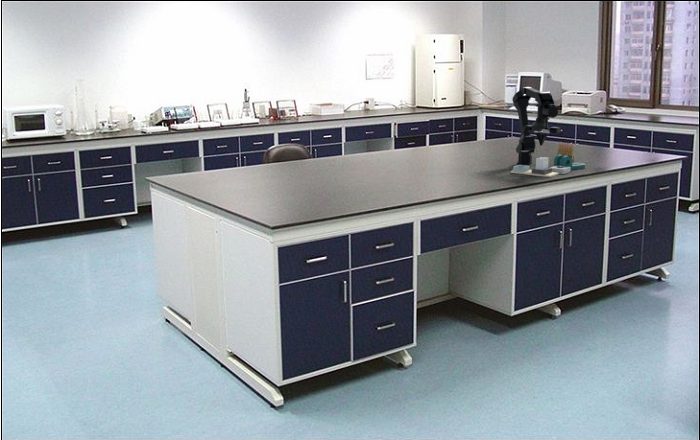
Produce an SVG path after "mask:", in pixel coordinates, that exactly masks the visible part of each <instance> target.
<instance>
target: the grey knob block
mask: <svg viewBox="0 0 700 440" xmlns="http://www.w3.org/2000/svg"><path fill="white" fill-rule="evenodd" d="M550 168H552V172H556V173H559V174H560V175H565V174H568V173H571V171H572V170H571V167H564V166H554V165H553V166H551V167H550ZM559 174H558V175H559Z"/></svg>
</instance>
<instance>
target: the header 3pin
mask: <svg viewBox="0 0 700 440" xmlns="http://www.w3.org/2000/svg"><path fill="white" fill-rule="evenodd" d="M528 170H531V167H530V165H526V164H517V165H514V166H513V167H512V171H519V172H525V171H528Z"/></svg>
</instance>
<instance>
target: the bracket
mask: <svg viewBox="0 0 700 440" xmlns="http://www.w3.org/2000/svg"><path fill="white" fill-rule="evenodd" d="M566 161H567V163H566ZM554 166H564V167H571V171H574V170H575V171H576V170H582V169H583V170H584V169H586V163H584V162H574V163H573V160H572V158H571V157H570V156H564V155H560V154H559V155H557V154H556V156H555V157H554V159H553V167H554Z"/></svg>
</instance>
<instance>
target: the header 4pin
mask: <svg viewBox="0 0 700 440" xmlns="http://www.w3.org/2000/svg"><path fill="white" fill-rule="evenodd" d="M531 170H532V173H533V174H542V175H545V174H548V173H551V172H552V168H551V167H548V169H546V170H538V169H536V167H533V168H532V169H531Z"/></svg>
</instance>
